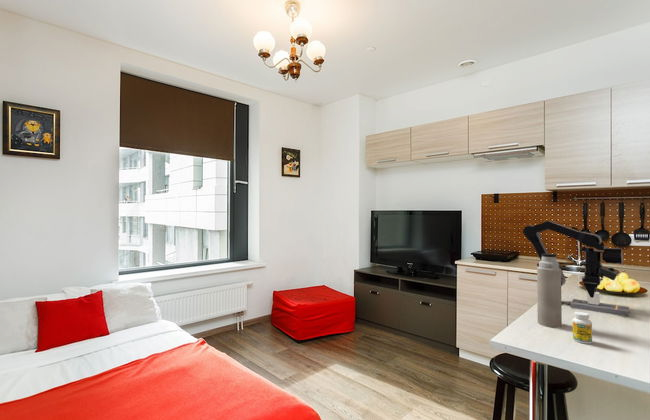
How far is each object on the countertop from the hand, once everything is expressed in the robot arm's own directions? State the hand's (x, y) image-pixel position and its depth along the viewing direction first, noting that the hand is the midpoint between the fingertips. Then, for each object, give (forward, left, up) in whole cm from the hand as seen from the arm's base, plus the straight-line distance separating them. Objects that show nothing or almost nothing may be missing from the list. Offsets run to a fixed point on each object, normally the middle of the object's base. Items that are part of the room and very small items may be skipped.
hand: (593, 295), depth 154 cm
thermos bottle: (-37, -15, -6) cm, 40 cm away
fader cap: (0, 0, -4) cm, 4 cm away
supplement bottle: (-40, -32, -6) cm, 51 cm away
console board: (+1, -2, -6) cm, 6 cm away
